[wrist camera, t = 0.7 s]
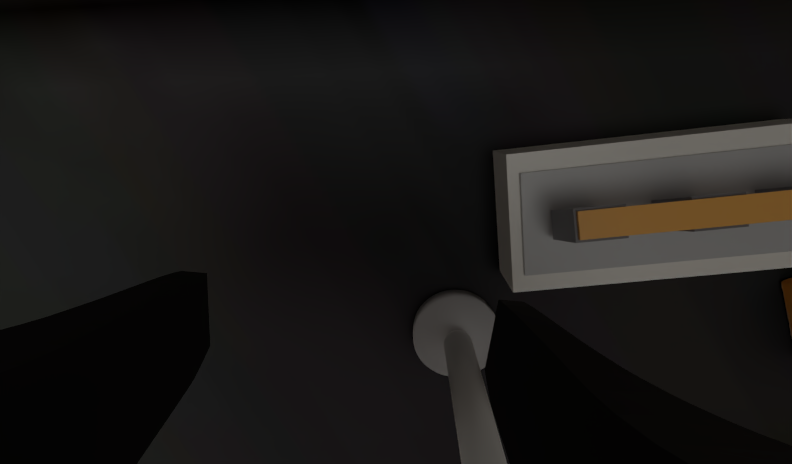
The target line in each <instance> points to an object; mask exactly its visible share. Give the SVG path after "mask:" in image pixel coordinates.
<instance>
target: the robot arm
mask: <svg viewBox="0 0 792 464" xmlns="http://www.w3.org/2000/svg"><path fill="white" fill-rule="evenodd" d="M209 347H210V334H209V313H208V291H207V273H197V272H186V271H180V272H175V273H171V274H168V275H165V276H162V277H159V278H156V279H153V280H150V281H147V282H145V283H142V284H139V285H136V286H134V287H131V288H128V289H126V290H123V291H120V292H117V293H115V294H112V295H109V296H107V297H104V298H101V299H98V300H95V301H92V302H90V303H87V304H84V305H81V306H78V307H75V308H72V309H69V310H66V311H63V312H60V313H57V314H54V315H51V316H48V317H45V318H41V319H38V320H35V321H31V322H28V323H24V324H21V325H17V326H14V327H10V328H6V329H2V330H0V464H137V463H138V461H139V460H140V458H141V457H142V455H143V454H144V452H145V451H146V450H147V448H148V447H149V445H150V444H151V442H152V441H153V439H154V438H155V436H156V435H157V433H158V432H159V431H160V429H161V428H162V426H163V425H164V423H165V422H166V420H167V419H168V417H169V416H170V414H171V413H172V411H173V410H174V409H175V407H176V406H177V404H178V403H179V401H180V400H181V398H182V397H183V395H184V394H185V392H186V391H187V389H188V388H189V386H190V384H191V383H192V381H193V380H194V378H195V376H196V374H197V372H198V370H199V368H200V366H201V364H202V362H203V360H204V357H205V355H206V353H207V351H208V349H209ZM485 373H486V379H487V385H488V391H489V396H490V401H491V406H492V409H493V412H494V416H495V419H496V422H497V425H498V428H499V431H500V434H501V437H502V440H503V443H504V446H505V449H506V453H507V456H508V459H509V462H510V464H792V446H790V445H788V444H785V443H782V442H780V441H777V440H775V439H772V438H769V437H767V436H764V435H761V434H759V433H756V432H754V431H751V430H749V429H746V428H744V427H742V426H739V425H737V424H734V423H732V422H730V421H727V420H725V419H723V418H721V417H718V416H716V415H714V414H712V413H709V412H707V411H705V410H703V409H701V408H698V407H696V406H694V405H692V404H690V403H688V402H686V401H683V400H681V399H679V398H677V397H675V396H673V395H671V394H669V393H667V392H665V391H664V390H662V389H660V388H658V387H656V386H654V385H652V384H651V383H649V382H647V381H645V380H643V379H641V378H639V377H638V376H636V375H634V374H632V373H631V372H629V371H627V370H625V369H624V368H622V367H621V366H619V365H617V364H616V363H614V362H613V361H611V360H609V359H608V358H606V357H605V356H603V355H601V354H600V353H598V352H597V351H595V350H594V349H592V348H591V347H589V346H588V345H586V344H585V343H583V342H582V341H580V340H579V339H577V338H576V337H575V336H573V335H572V334H570V333H569V332H567V331H566V330H565V329H563V328H562V327H560V326H559V325H558V324H556V323H555V322H553V321H552V320H550V319H549V318H548V317H546V316H545V315H543V314H542V313H540V312H539V311H538V310H536V309H534V308H533V307H531V306H530V305H528V304H526V303H524V302H519V301H508V300H499V301H498V306H497V311H496V316H495V321H494V326H493V331H492V335H491V340H490V345H489V350H488V355H487V360H486V365H485Z"/></svg>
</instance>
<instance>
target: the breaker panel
mask: <svg viewBox="0 0 792 464" xmlns="http://www.w3.org/2000/svg"><path fill="white" fill-rule="evenodd" d="M493 165H494V182H495V199H496V216H497V233H498V251H499V268H500V272H501V274H502V275H503V277H504V278H505V280H506V282H507V283H508V285H509V287H510V288H511V290H512V291H513V293H514V292H525V291H536V290H547V289H558V288H570V287H581V286H592V285H603V284H614V283H625V282H636V281H647V280H658V279H669V278H680V277H691V276H703V275H714V274H725V273H736V272H747V271H758V270H769V269H780V268H791V267H792V220H785V221H775V222H764V223H754V224H749V227H739V228H729V229H718V230H708V231H697V232H689V231H671V232H660V233H650V234H640V235H629V238H624V239H614V240H604V241H593V242H583V243H572V242H566V241H559V240H553V230H552V220H551V210H560V209H570V208H580V207H589V206H601V205H614V204H626V206H633V205H643V204H652V203H651V200H659V199H669V198H679V197H689V196H699V195H711V194H723V193H734V192H746V194H753V193H755V190H758V189H768V188H778V187H788V186H792V119H777V120H767V121H758V122H749V123H740V124H731V125H722V126H713V127H704V128H695V129H685V130H676V131H667V132H658V133H649V134H640V135H631V136H622V137H612V138H603V139H594V140H585V141H576V142H567V143H558V144H549V145H540V146H530V147H521V148H512V149H503V150H494V151H493Z"/></svg>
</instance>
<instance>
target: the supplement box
mask: <svg viewBox="0 0 792 464" xmlns="http://www.w3.org/2000/svg"><path fill="white" fill-rule="evenodd" d="M781 287H782V290H783V294H784V300H785V306H786V310H787V316H788V320H789V327H790V332H791V337H792V278H789V279H786V280H783V281H782V282H781Z"/></svg>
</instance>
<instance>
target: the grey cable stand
mask: <svg viewBox="0 0 792 464" xmlns="http://www.w3.org/2000/svg"><path fill="white" fill-rule="evenodd" d="M494 321H495V314H494V312H493V310H492V309H491V307H490V306H489V304H488V303H487V302H486V301H485V300H484V299H483V298H481V297H480V296H478V295H476V294H474V293H472V292H469V291H465V290H457V289H456V290H446V291H442V292H439V293H437V294H435V295H433V296H431V297H430V298H428V299H427V300H426V301H425V302H424V303H423V304H422V305H421V306H420V308H419V309H418V311H417V313H416V315H415V318H414V322H413V343H414V348H415V351H416V353H417V355H418V357H419V358H420V360H421V361H422V362H423V363H424V364H425V365H426V366H427V367H428V368H430V369H431V370H433V371H435V372H437V373H439V374H442V375H445V376H448V377H449V384H450V390H451V397H452V404H453V410H454V417H455V424H456V431H457V437H458V444H459V451H460V457H461V464H507V462H506V458H505V455H504V451H503V448H502V444H501V441H500V437H499V434H498V430H497V427H496V423H495V419H494V416H493V412H492V409H491V405H490V402H489V398H488V395H487V391H486V388H485V384H484V381H483V377H482V374H481V370H482V369H483V368H484V367H485V365H486V360H487V355H488V350H489V345H490V340H491V335H492V331H493V326H494Z"/></svg>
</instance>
